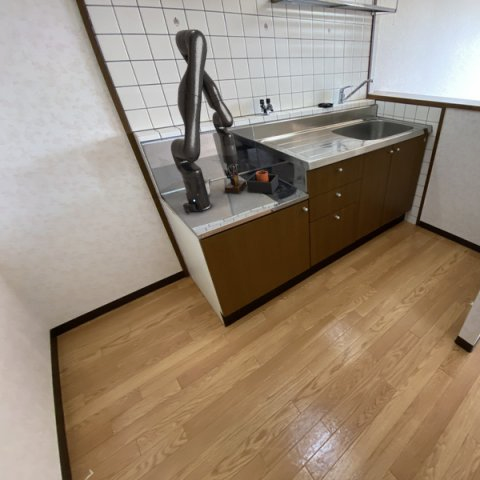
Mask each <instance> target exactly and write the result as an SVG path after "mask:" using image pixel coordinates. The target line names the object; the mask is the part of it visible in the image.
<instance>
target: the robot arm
mask: <svg viewBox="0 0 480 480" xmlns="http://www.w3.org/2000/svg"><path fill="white" fill-rule="evenodd" d="M174 38H175V39H174V40H175V45H176V47H177V49H178V51H179V54H180V55H181V57H182V59H183V60H184V62H185V64H186V69H185V71H184V73H183V76H182V78H181V80H180V82H179V84H178V88H177V101H176V102H177V108H178V112H179V115H180V118H181V120H182V122H183V127H184V137H183V138H175V139H173V140H172V142H171V143H170V152H171V156H172V159H173V162H174V164H175V166H176V170H177V171H178V172H179V173H180V176H181V179H182V183H183V186H184V189H185V196H186V199H187V200H186V201H187V202H184V203H183V204H182V207H183V209H184V212H185V213H186V214H188V213H189V211H190V212H191V211H192V212H201V213H202V212H205V211H207V210H209V209H210V208H211V207H212V204H211V201H210V196H209V195H208V193H207V189H206V185H205V181H204V179H205V177H204V173H203V170H202V167H201V166H199V165H198V164H197V163H196V162H197V161H198V160H199V158H200V157H201V116H202V115H201V113H202V101H203V96H204V98H205V100H206V103H207V105H208V107H209V108H210V109H211V110H213V111H214V112H213V114H212V118H211V122H212V124H213V128H214V130H215V132H216V134H217V136H218V139H219V144H220V152H221V155H222V160H223V163H224V164H225V165H226V168H225V169H224V170H223V172H224V175H225V176H226V179H227V180H230V181H229V182H231V185H235V180H234V175H237V176H238V177H239V173H240V161H239V157H238V152H237V147H236V144H235V138H234V134H233V133H232V132H231V131H229V130H228V129H230V128H232V126H233V125H234V116H233V114H232V112H231V111H230V109H229V107H228V106H227V105H226V103H225V102H224V100H223V98H222V95H221V92H220V89H219V88H218V85H217V84H216V82H215V81H214V80H213V78H212V77H211V76H210V74H209V73H208V72H207V71H206V62H207V56H208V42H207V38H206V36H205V35H204V33H203V32H202V31H201V30H199V29H196V28H193V29H192V28H191V29H190V28H189V29H181V30H178V31H177V32H176V34H175V37H174ZM239 180H240V179H239V178H238V181H239Z"/></svg>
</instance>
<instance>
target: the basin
mask: <svg viewBox="0 0 480 480" xmlns="http://www.w3.org/2000/svg"><path fill="white" fill-rule="evenodd" d="M268 180H269V182H258V181H257V178H256V172H254V173H253V174H252V175H251V176H250V177H249V178H248V179H247V180H245V181H246V185H247V186H246V187H247V192H248V193H256V194H267V195H268V194H270V195H272V194H274V192H275V191H276V189H277V188H278V187H279V185H280V184H279V176H278V174H271V173H268Z"/></svg>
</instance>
